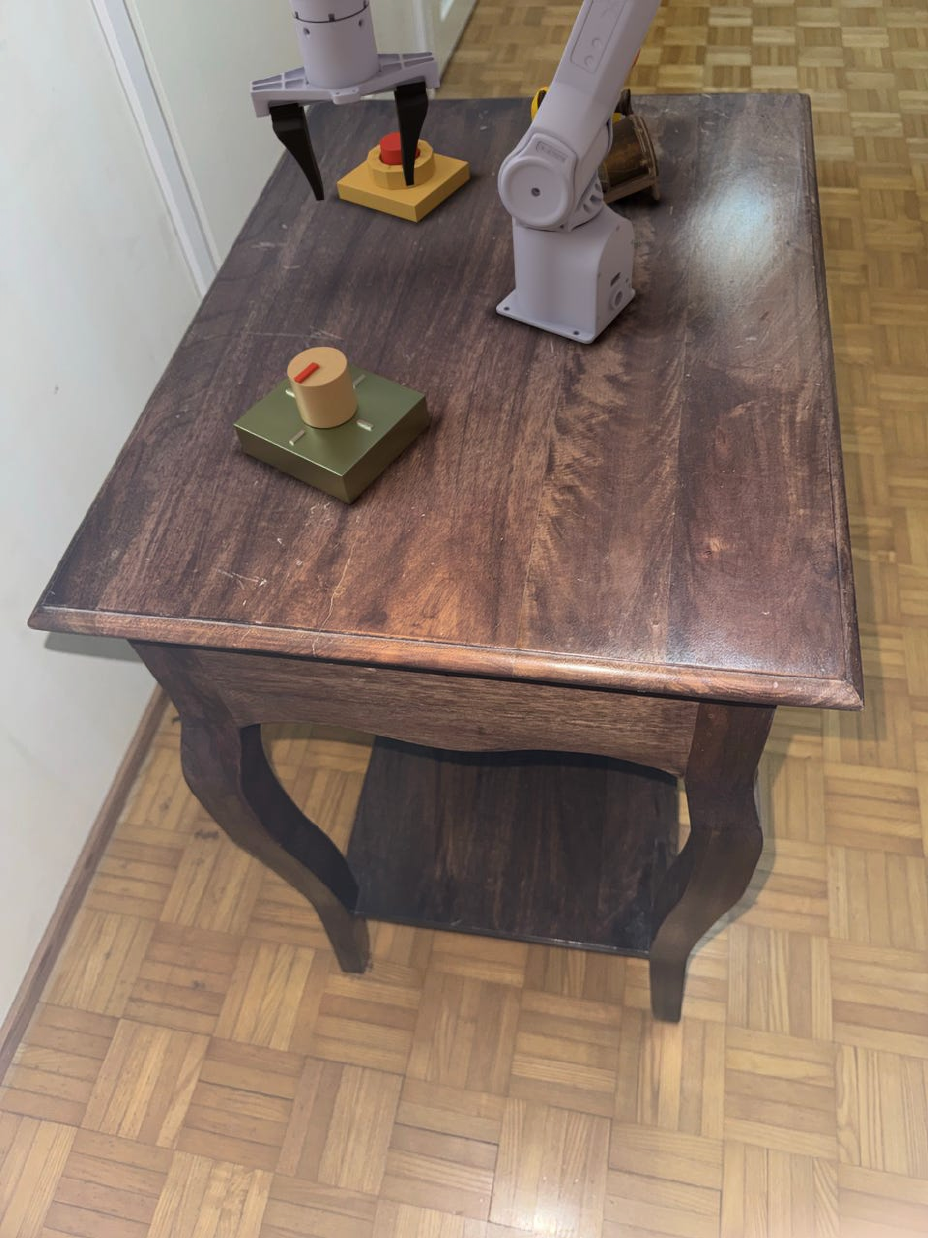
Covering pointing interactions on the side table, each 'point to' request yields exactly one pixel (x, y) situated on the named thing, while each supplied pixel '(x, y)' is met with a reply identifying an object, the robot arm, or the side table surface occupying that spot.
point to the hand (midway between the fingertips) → (364, 186)
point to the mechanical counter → (630, 160)
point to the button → (392, 149)
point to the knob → (322, 387)
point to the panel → (336, 435)
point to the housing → (404, 183)
